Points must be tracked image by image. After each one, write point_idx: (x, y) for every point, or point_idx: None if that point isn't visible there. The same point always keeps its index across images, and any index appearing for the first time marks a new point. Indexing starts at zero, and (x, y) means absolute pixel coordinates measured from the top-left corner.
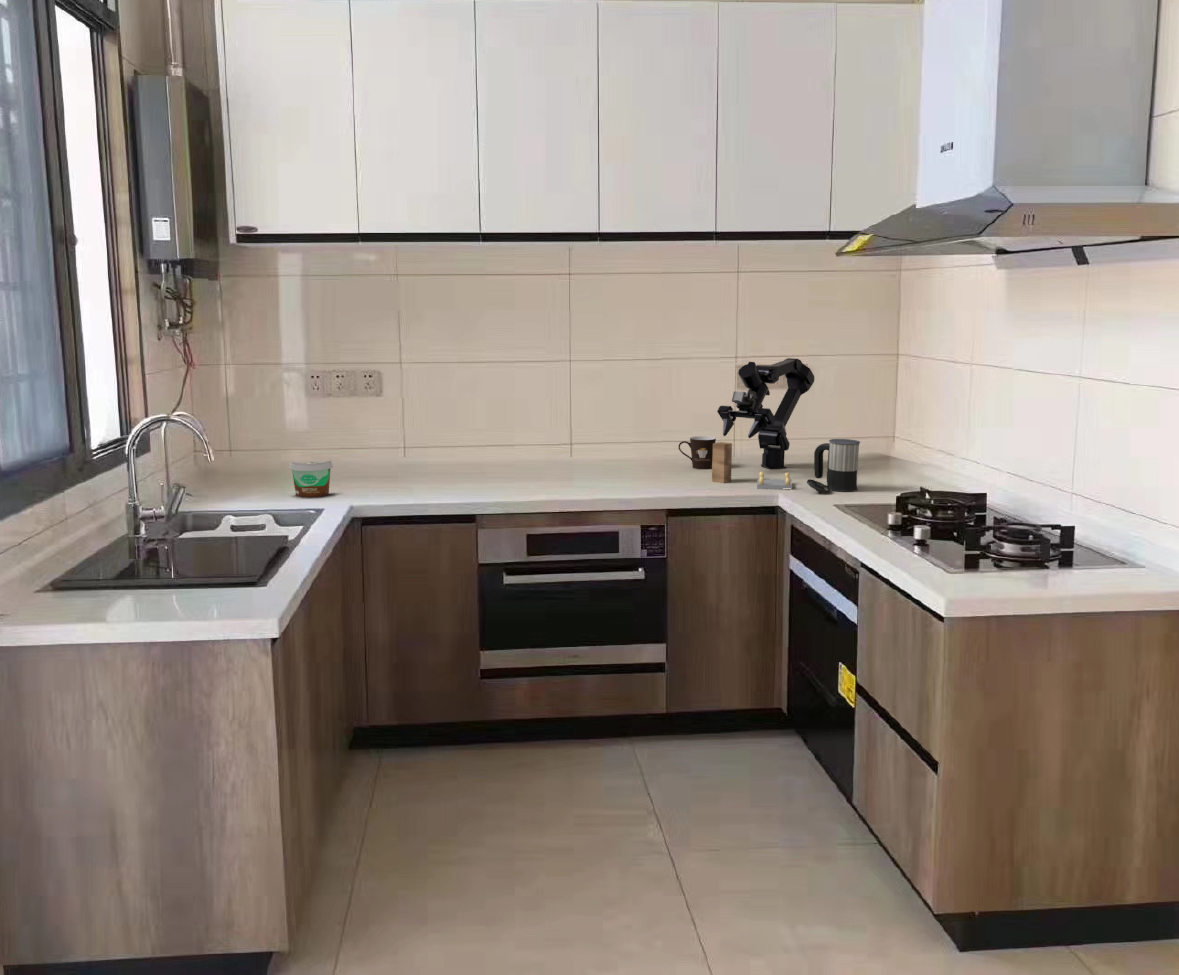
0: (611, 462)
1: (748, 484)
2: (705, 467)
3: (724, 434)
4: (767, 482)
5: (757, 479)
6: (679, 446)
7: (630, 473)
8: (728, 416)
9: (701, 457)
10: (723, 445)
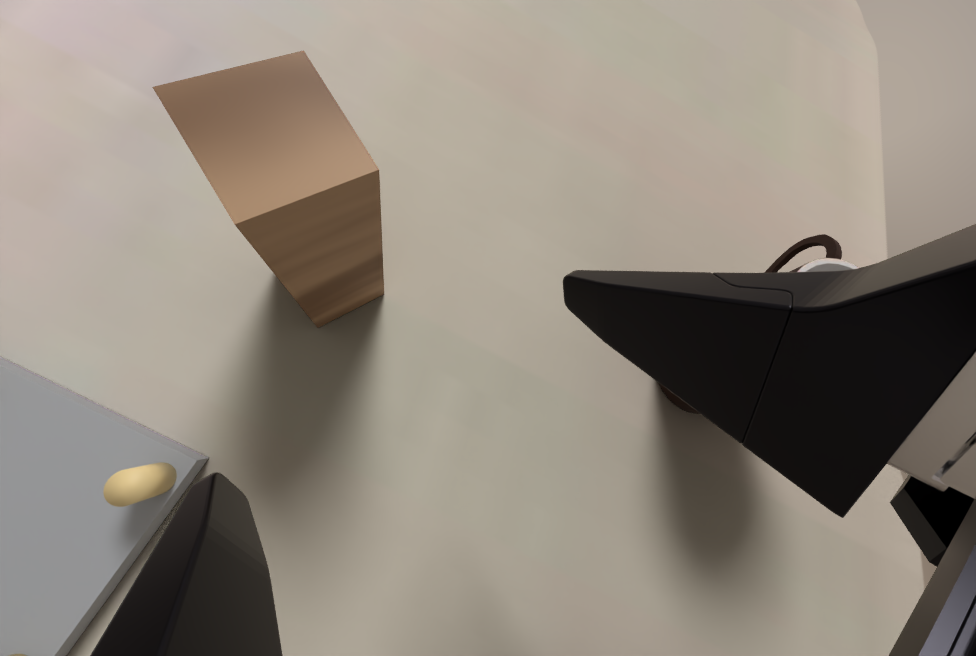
0: (813, 125)
1: (172, 372)
2: None
3: (566, 287)
4: (2, 461)
5: (162, 444)
6: (806, 241)
7: (621, 64)
8: (916, 340)
9: None
10: (174, 92)
